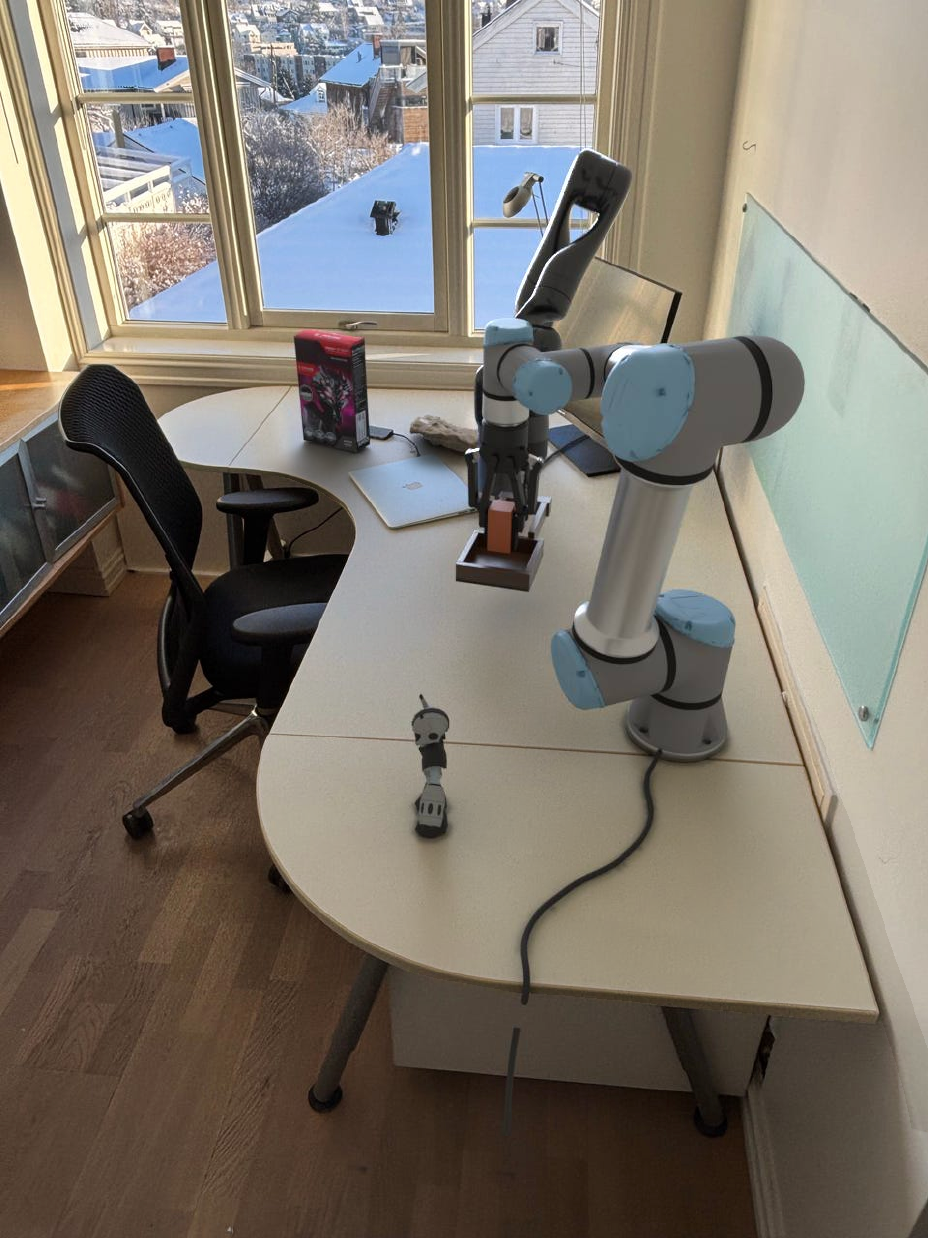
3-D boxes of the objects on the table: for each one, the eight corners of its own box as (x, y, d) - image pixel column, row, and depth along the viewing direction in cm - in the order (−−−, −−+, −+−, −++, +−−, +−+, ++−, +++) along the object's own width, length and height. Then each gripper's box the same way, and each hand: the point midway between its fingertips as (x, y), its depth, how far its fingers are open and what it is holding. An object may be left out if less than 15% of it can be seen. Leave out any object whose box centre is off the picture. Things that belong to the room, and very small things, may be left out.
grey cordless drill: (452, 871, 119) (452, 756, 108) (414, 872, 119) (410, 757, 108) (447, 767, 136) (446, 657, 124) (413, 768, 135) (410, 658, 124)
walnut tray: (528, 592, 158) (530, 569, 155) (455, 581, 161) (455, 559, 158) (557, 519, 180) (559, 498, 177) (493, 510, 183) (493, 490, 180)
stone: (393, 439, 229) (398, 415, 226) (412, 430, 242) (417, 408, 240) (473, 463, 225) (479, 439, 223) (488, 453, 238) (493, 431, 236)
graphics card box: (301, 441, 235) (290, 334, 220) (317, 432, 240) (307, 326, 225) (357, 454, 229) (350, 345, 213) (372, 444, 234) (367, 337, 218)
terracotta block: (509, 553, 160) (511, 512, 155) (487, 550, 161) (488, 509, 156) (514, 542, 163) (516, 502, 159) (492, 539, 164) (493, 499, 159)
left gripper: (540, 450, 164) (535, 535, 174) (555, 421, 175) (549, 503, 185) (499, 445, 166) (497, 530, 176) (516, 417, 177) (513, 498, 187)
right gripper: (562, 415, 150) (553, 541, 163) (460, 404, 154) (459, 528, 167) (553, 432, 144) (544, 562, 157) (447, 421, 148) (448, 548, 161)
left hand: (524, 516), depth 180 cm, fingers closed on walnut tray, 2 cm apart
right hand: (501, 544), depth 162 cm, fingers open, 4 cm apart
